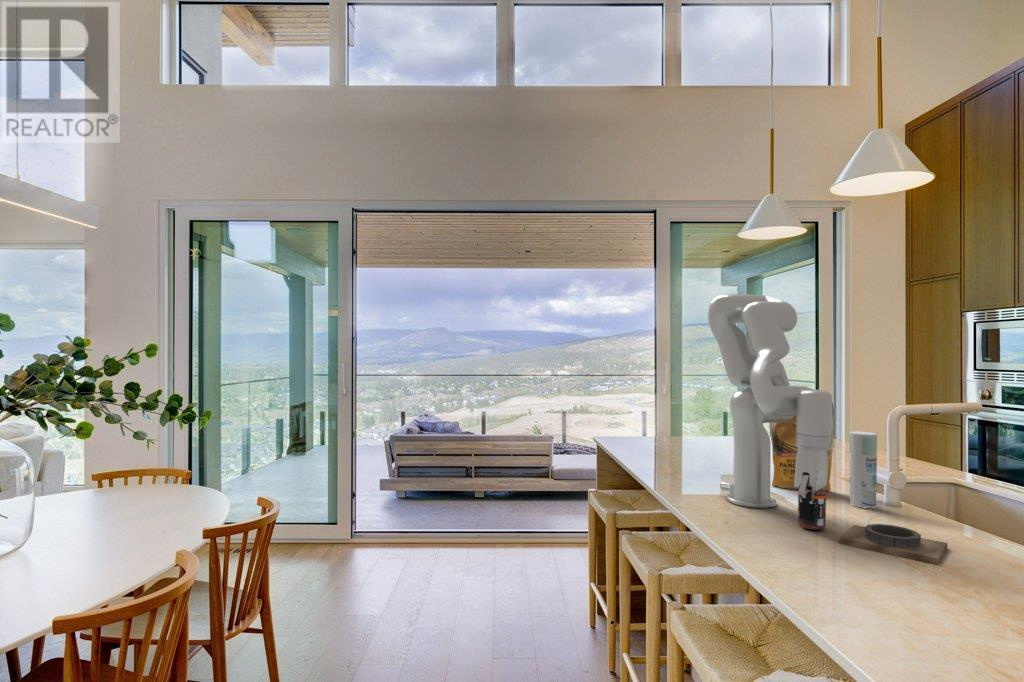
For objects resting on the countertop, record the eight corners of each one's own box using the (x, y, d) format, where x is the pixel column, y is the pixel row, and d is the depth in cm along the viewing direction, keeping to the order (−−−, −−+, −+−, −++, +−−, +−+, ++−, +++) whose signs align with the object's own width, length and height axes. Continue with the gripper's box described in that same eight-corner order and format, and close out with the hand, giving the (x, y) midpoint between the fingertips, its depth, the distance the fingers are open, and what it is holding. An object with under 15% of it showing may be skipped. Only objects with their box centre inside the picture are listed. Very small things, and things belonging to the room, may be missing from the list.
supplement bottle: (829, 531, 136) (830, 483, 136) (801, 529, 138) (802, 482, 137) (821, 523, 142) (821, 477, 142) (794, 521, 143) (795, 475, 143)
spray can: (866, 510, 156) (866, 435, 156) (843, 503, 162) (844, 431, 162) (882, 507, 159) (882, 434, 159) (859, 501, 165) (859, 430, 165)
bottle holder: (838, 542, 130) (838, 528, 130) (853, 529, 139) (853, 516, 139) (937, 564, 117) (937, 548, 117) (947, 548, 127) (947, 533, 127)
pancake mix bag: (765, 482, 187) (766, 395, 187) (832, 488, 180) (833, 397, 181) (767, 487, 180) (768, 397, 180) (837, 493, 174) (837, 399, 174)
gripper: (808, 435, 148) (806, 505, 149) (784, 443, 136) (782, 520, 136) (841, 439, 143) (839, 512, 144) (819, 448, 131) (817, 528, 131)
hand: (811, 515), depth 140 cm, fingers closed on supplement bottle, 6 cm apart
